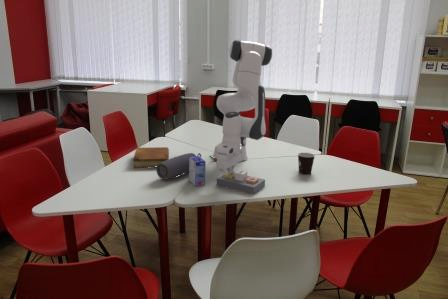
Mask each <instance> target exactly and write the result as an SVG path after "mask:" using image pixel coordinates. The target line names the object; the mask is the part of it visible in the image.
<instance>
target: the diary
mask: <svg viewBox="0 0 448 299" xmlns="http://www.w3.org/2000/svg"><path fill="white" fill-rule="evenodd" d="M135 149H136V150H135V152H134V155H133V158H132V161H133V162H134V164H133V167H132V168H133V169H149V168H148V167H155V166H157V165H158V164H159V163H161V162H163V161H166V160H168V159H170V156H169V155H170V152H169V151H170V149H169V148H168V146H167V147H166V146H165V147H160V146H159V147H136V148H135Z"/></svg>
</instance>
